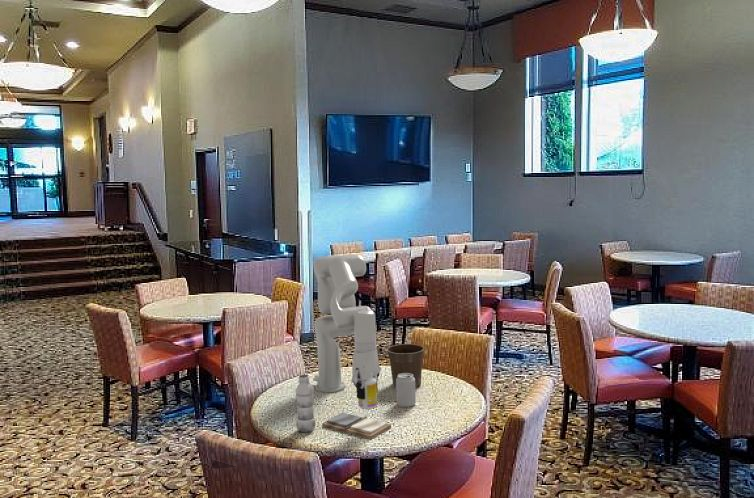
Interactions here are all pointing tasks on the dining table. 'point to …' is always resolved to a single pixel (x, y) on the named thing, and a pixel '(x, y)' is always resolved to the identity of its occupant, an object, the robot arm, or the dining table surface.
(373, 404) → the supplement bottle
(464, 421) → the dining table surface
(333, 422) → the makeup compact
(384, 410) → the dining table surface
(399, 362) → the plant pot
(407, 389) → the can
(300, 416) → the plastic bottle
